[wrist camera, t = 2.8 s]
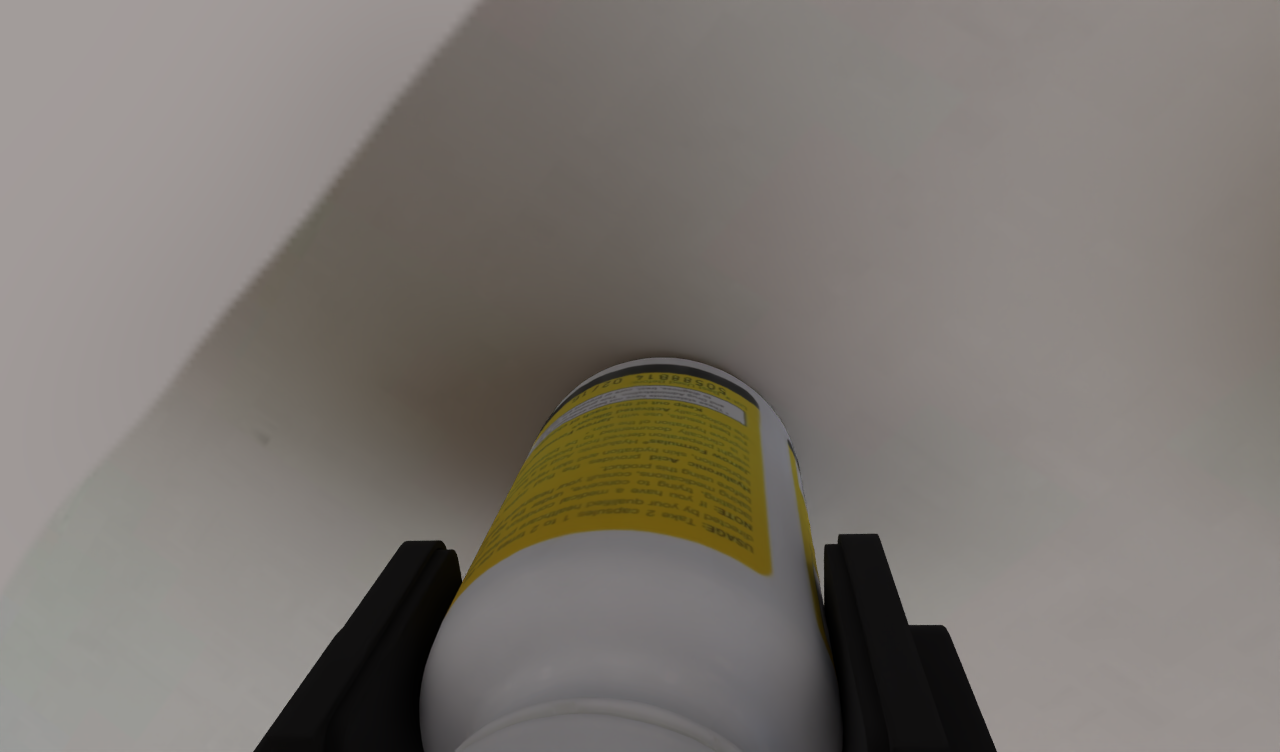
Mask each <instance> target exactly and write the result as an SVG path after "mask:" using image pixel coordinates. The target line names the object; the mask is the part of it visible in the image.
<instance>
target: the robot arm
mask: <svg viewBox="0 0 1280 752" xmlns="http://www.w3.org/2000/svg"><path fill="white" fill-rule="evenodd" d="M461 584H462V578H461V572H460V567H459V561H458V557H457V554H456V552H455V551H454V550H447V549H446V546H445V544H444V543H443V542H442V541H440V540H437V541H406V542H404V543H403V544H402V545H401V546H400V547H399V549H398V550H397V552H396V553H395V554H394V556H393V557H392V559H391V560H390V562H389V563H388V564H387V566H386V567H385V569H384V570H383V572H382V573H381V574H380V576H379V577H378V579H377V580H376V581H375V583H374V584H373V586H372V587H371V589H370V590H369V591H368V593H367V594H366V596H365V597H364V599H363V600H362V601H361V603H360V604H359V606H358V607H357V609H356V610H355V611H354V613H353V614H352V616H351V617H350V618H349V620H348V621H347V623H346V624H345V626H344V627H343V628H342V629H341V630H340V631H339V632H338V633H337V634H336V635H335V637H334V638H333V640H332V641H331V643H330V644H329V645H328V647H327V648H326V650H325V651H324V652H323V654H322V655H321V657H320V658H319V660H318V661H317V662H316V664H315V665H314V667H313V668H312V669H311V671H310V672H309V674H308V675H307V676H306V678H305V679H304V681H303V682H302V684H301V685H300V686H299V688H298V689H297V691H296V692H295V693H294V695H293V696H292V698H291V699H290V701H289V702H288V703H287V705H286V706H285V708H284V709H283V710H282V712H281V713H280V715H279V716H278V718H277V719H276V720H275V722H274V723H273V725H272V726H271V727H270V729H269V730H268V732H267V733H266V735H265V736H264V737H263V739H262V740H261V742H260V743H259V744H258V746H257V747H256V749H255V750H254V751H253V752H424V749H423V744H422V738H421V730H420V717H419V699H420V691H421V684H422V678H423V674H424V669H425V666H426V662H427V659H428V656H429V653H430V650H431V648H432V645H433V643H434V641H435V638H436V636H437V633H438V631H439V629H440V626H441V624H442V622H443V620H444V618H445V616H446V614H447V612H448V610H449V608H450V606H451V604H452V602H453V600H454V598H455V596H456V594H457V592H458V590H459V588H460V586H461ZM824 609H825V617H826V622H827V627H828V630H829V638H830V644H831V649H832V655H833V660H834V665H835V670H836V675H837V680H838V686H839V692H840V703H841V712H842V720H843V751H842V752H997V751H996V748H995V746H994V743H993V741H992V738H991V736H990V734H989V731H988V729H987V726H986V724H985V721H984V719H983V716H982V714H981V711H980V709H979V706H978V704H977V701H976V699H975V696H974V694H973V691H972V689H971V686H970V684H969V681H968V679H967V677H966V674H965V672H964V669H963V667H962V664H961V662H960V659H959V657H958V654H957V652H956V649H955V647H954V644H953V642H952V639H951V637H950V635H949V633H948V631H947V629H946V628H945V627H944V626H943V625H908V622H907V619H906V616H905V613H904V610H903V607H902V604H901V601H900V598H899V595H898V592H897V589H896V586H895V583H894V580H893V577H892V574H891V571H890V568H889V565H888V562H887V559H886V556H885V553H884V550H883V547H882V544H881V541H880V538H879V536H878V534H839V536H838V544H825V547H824Z"/></svg>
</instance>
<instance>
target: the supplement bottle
mask: <svg viewBox="0 0 1280 752" xmlns="http://www.w3.org/2000/svg"><path fill="white" fill-rule="evenodd" d="M419 717H420V730H421V738H422V744H423V749H424V752H842V751H843V720H842V712H841V703H840V692H839V686H838V680H837V675H836V670H835V665H834V660H833V655H832V649H831V644H830V638H829V630H828V627H827V622H826V617H825V609H824V605H823V599H822V594H821V588H820V581H819V576H818V571H817V565H816V559H815V551H814V547H813V543H812V537H811V531H810V523H809V519H808V512H807V506H806V500H805V495H804V490H803V484H802V480H801V475H800V469H799V464H798V461H797V457H796V454H795V451H794V448H793V444H792V442H791V440H790V437H789V435H788V433H787V431H786V429H785V427H784V425H783V424H782V422H781V420H780V419H779V417H778V416H777V414H776V413H775V412H774V410H773V409H772V408H771V407H770V405H769V404H768V403H767V402H766V401H765V400H764V399H763V398H762V397H761V396H760V395H759V394H758V393H756V392H755V391H754V390H753V389H752V388H750V387H749V386H748V385H746V384H745V383H743V382H742V381H740V380H739V379H737V378H735V377H734V376H732V375H730V374H728V373H726V372H724V371H722V370H720V369H717V368H714V367H712V366H709V365H706V364H703V363H700V362H695V361H691V360H686V359H679V358H646V359H639V360H634V361H629V362H626V363H622V364H618V365H615V366H613V367H610V368H607V369H605V370H603V371H601V372H599V373H597V374H595V375H594V376H592V377H590V378H589V379H587V380H585V381H584V382H583V383H581V384H580V385H579V386H577V387H576V388H575V389H574V390H573V391H572V392H571V393H570V394H569V395H568V396H567V397H566V398H565V399H564V400H563V401H562V402H561V403H560V404H559V405H558V407H557V408H556V409H555V410H554V412H553V413H552V415H551V416H550V417H549V419H548V420H547V421H546V423H545V424H544V426H543V427H542V429H541V431H540V433H539V434H538V436H537V438H536V441H535V442H534V444H533V446H532V448H531V450H530V452H529V454H528V456H527V458H526V460H525V462H524V464H523V466H522V468H521V470H520V472H519V474H518V475H517V477H516V480H515V482H514V484H513V486H512V488H511V489H510V491H509V493H508V495H507V497H506V499H505V501H504V503H503V505H502V506H501V508H500V510H499V513H498V514H497V516H496V518H495V520H494V522H493V524H492V526H491V528H490V530H489V532H488V533H487V535H486V537H485V539H484V541H483V543H482V545H481V547H480V549H479V551H478V553H477V555H476V557H475V559H474V561H473V563H472V565H471V566H470V568H469V570H468V572H467V574H466V576H465V578H464V580H463V582H462V584H461V586H460V588H459V590H458V592H457V594H456V596H455V598H454V600H453V602H452V604H451V606H450V608H449V610H448V612H447V614H446V616H445V618H444V620H443V622H442V624H441V626H440V629H439V631H438V633H437V636H436V638H435V641H434V643H433V645H432V648H431V650H430V653H429V656H428V659H427V662H426V666H425V669H424V674H423V678H422V684H421V691H420V699H419Z"/></svg>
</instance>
